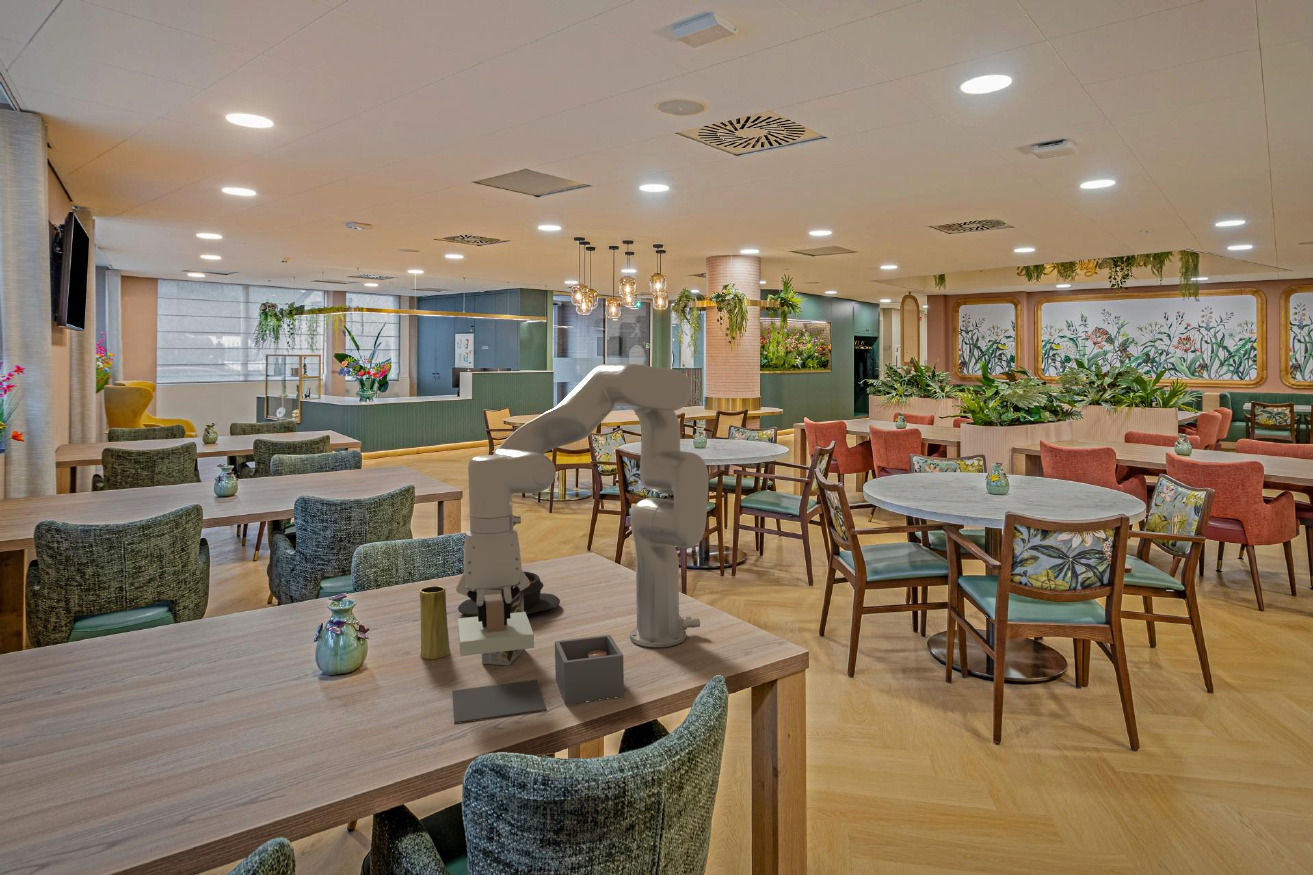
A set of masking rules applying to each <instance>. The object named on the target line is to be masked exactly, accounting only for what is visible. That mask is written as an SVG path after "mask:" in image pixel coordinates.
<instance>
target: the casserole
mask: <svg viewBox="0 0 1313 875" xmlns="http://www.w3.org/2000/svg"><path fill="white" fill-rule="evenodd" d="M523 572H524V574H525V575H526V577H527V579H528V580H529V582H530V585H529V586H528V587H527V588H525V589H523V599H524V612H526V615H528V616H529V615H530V614H534V613H537V612H544V611H548V610H552V609H555V608H556V607H558V606H559V605H560V603H561V599H560V598H559V597H558V596H556V595H555V594H553V593H545V592H544V593H541V592H542V591H541V590H542V589H543V588H544V583H543V582H542V581H541V579H540V577H539V575H538V574H536V573H534V572H531V571H524V570H523ZM473 590H474V591H475V592H476V589H473ZM457 611H458V612H459V613H461V614H462V615H465V616H473V617H478V605H477V604H476V603H475V602H474V601H473V600H471V599H470V598H469V599H466V600H464V601H463V602H461V603H460V604H459V605H458V607H457Z"/></svg>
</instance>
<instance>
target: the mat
mask: <svg viewBox="0 0 1313 875" xmlns="http://www.w3.org/2000/svg"><path fill="white" fill-rule="evenodd" d="M452 707H453V708H452V709H453V722H454V723H455V724H460V723H459V722H462V723H465V722H464V721H469V722H474V721H473V720H476V721H481V720H480V719H483V720H489V719H495V718H503V716H504V717H509V716H516V715H517V714H518V715H523V714H524V715H525V714H531V713H530V712H532V713H537V712H536V711H539V712H543V711H542V710H546V711H547V706H546V702H545V700H544V696H543V693H542V690H541V688H540V685H539V681H538V679H532V680H523V681H515V682H509V683H502V684H493V685H492V684H491V685H485V686H478V687H470V688H463V689H455V690H452ZM518 715H517V716H518Z"/></svg>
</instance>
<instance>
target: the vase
mask: <svg viewBox="0 0 1313 875" xmlns="http://www.w3.org/2000/svg"><path fill="white" fill-rule="evenodd" d="M446 590H447V589H446V588H445V587H444V586H443V585H430V586H425V587H422V588H420V590H419V599H420V603H419V604H420V657H421V658H422V659H425V660H437V659H441V658H445V657H447V656H449V655H450V653H451V649H450V637H449V630H448V628H449V627H448V614H447V596H446V595H447V594H446V592H447V591H446Z"/></svg>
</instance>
